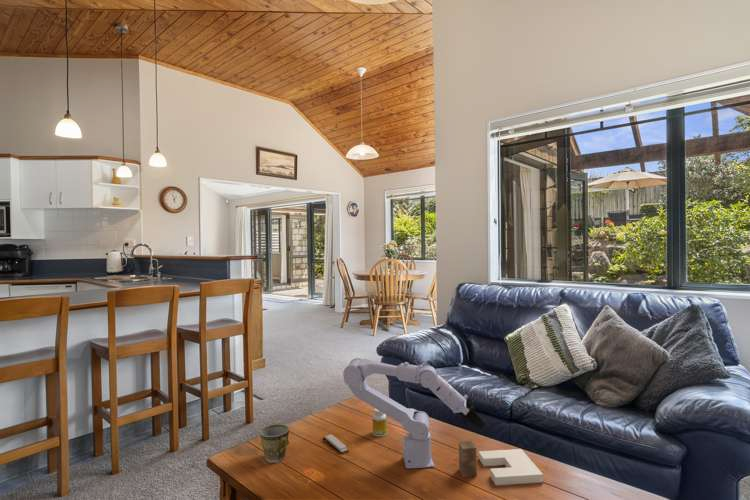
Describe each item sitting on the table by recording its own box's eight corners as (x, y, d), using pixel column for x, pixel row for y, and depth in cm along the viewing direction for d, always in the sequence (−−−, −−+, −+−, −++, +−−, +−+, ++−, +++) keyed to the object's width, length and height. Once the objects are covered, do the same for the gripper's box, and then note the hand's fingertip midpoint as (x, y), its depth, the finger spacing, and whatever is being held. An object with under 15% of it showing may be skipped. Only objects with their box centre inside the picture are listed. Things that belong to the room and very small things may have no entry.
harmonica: (322, 439, 157) (322, 434, 157) (330, 437, 159) (330, 432, 159) (341, 456, 145) (341, 450, 145) (348, 453, 147) (348, 447, 147)
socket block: (495, 485, 125) (495, 477, 125) (479, 458, 141) (478, 451, 140) (543, 482, 126) (543, 474, 126) (521, 456, 142) (521, 448, 142)
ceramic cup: (255, 458, 143) (254, 430, 143) (279, 448, 151) (278, 421, 150) (276, 472, 134) (275, 442, 134) (300, 460, 142) (300, 431, 142)
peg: (463, 476, 130) (462, 448, 130) (459, 469, 134) (458, 442, 134) (476, 476, 130) (476, 448, 130) (472, 468, 135) (472, 441, 134)
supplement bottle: (385, 437, 157) (384, 412, 157) (371, 436, 158) (371, 411, 158) (387, 431, 162) (387, 406, 162) (374, 430, 163) (373, 406, 163)
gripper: (460, 389, 130) (493, 419, 129) (452, 382, 145) (481, 409, 143) (446, 406, 130) (479, 436, 128) (439, 398, 144) (469, 425, 142)
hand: (479, 423), depth 135 cm, fingers open, 7 cm apart
